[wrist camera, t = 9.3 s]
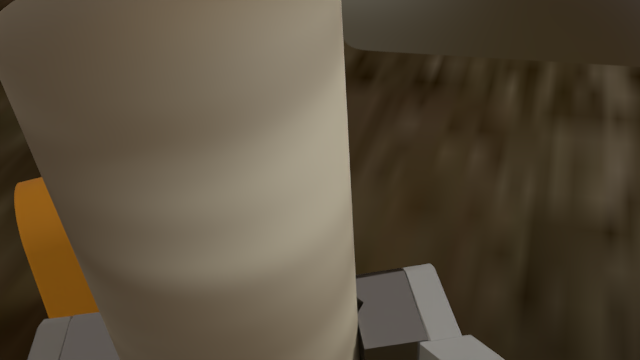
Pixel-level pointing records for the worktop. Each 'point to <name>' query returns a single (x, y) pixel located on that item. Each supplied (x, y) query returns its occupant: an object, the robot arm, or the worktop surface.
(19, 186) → the bracket
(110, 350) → the robot arm
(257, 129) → the dowel
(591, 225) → the worktop surface
